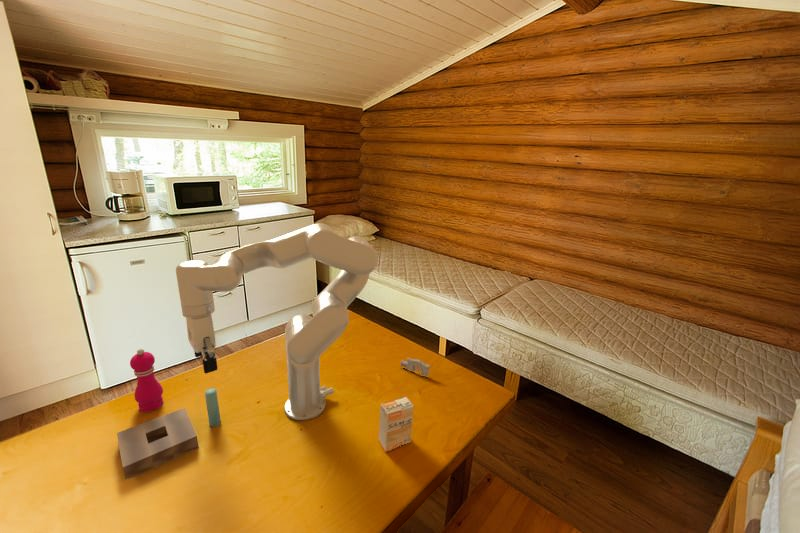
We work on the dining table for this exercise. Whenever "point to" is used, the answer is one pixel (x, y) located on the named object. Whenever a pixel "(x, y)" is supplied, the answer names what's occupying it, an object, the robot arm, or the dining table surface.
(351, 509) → the dining table surface
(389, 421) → the supplement box
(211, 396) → the teal peg
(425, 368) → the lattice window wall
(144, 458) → the walnut hole block
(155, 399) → the pepper mill
